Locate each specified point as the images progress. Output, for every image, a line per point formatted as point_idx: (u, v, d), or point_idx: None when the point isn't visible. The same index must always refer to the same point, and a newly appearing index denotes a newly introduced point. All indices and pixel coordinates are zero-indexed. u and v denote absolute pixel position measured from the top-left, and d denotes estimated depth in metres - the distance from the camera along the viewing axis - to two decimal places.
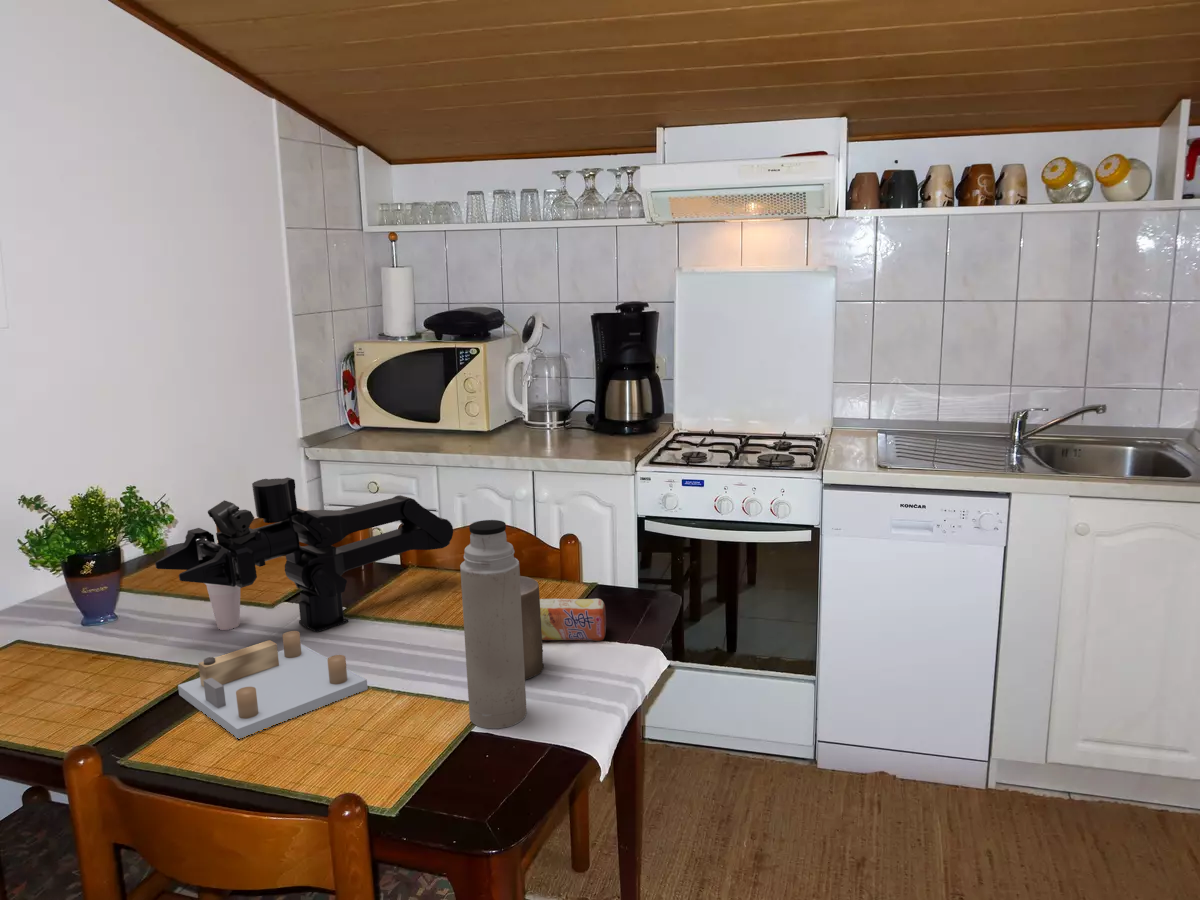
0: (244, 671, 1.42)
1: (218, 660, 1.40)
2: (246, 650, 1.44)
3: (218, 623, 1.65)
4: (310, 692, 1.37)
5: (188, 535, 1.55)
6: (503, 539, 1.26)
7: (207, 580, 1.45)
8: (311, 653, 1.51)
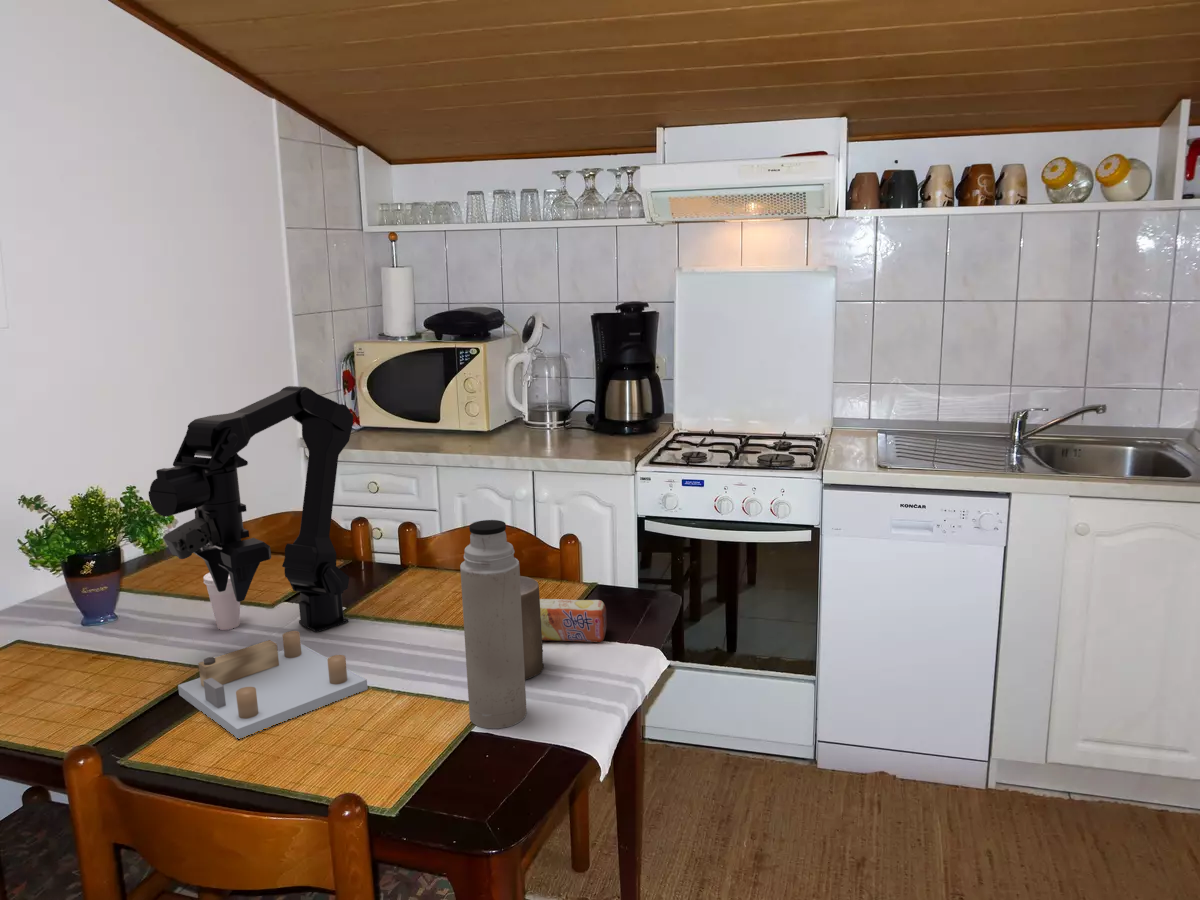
0: (244, 671, 1.42)
1: (218, 660, 1.40)
2: (246, 650, 1.44)
3: (218, 623, 1.65)
4: (310, 692, 1.37)
5: None
6: (503, 539, 1.26)
7: (250, 578, 1.44)
8: (311, 653, 1.51)
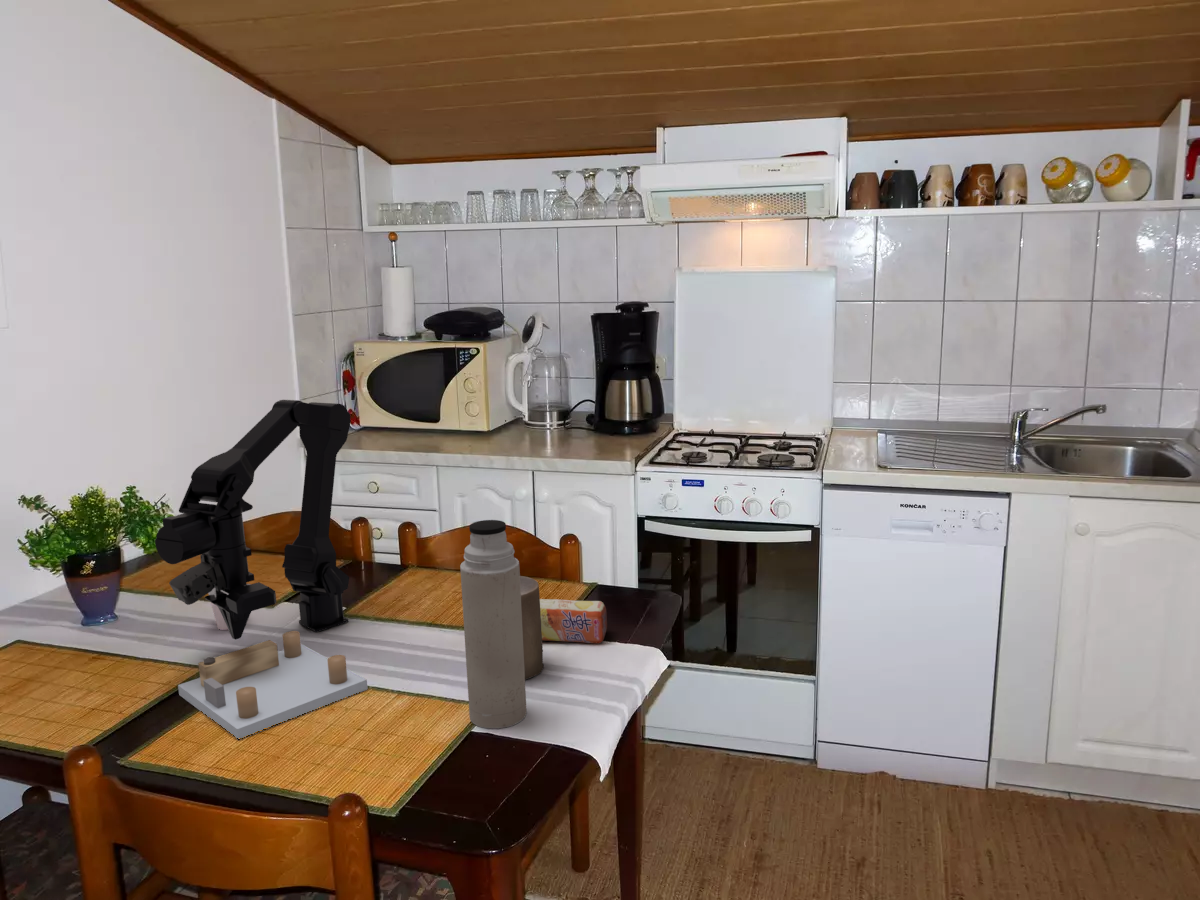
0: (244, 671, 1.42)
1: (218, 660, 1.40)
2: (246, 650, 1.44)
3: (218, 623, 1.65)
4: (310, 692, 1.37)
5: None
6: (503, 539, 1.26)
7: (246, 616, 1.48)
8: (311, 653, 1.51)
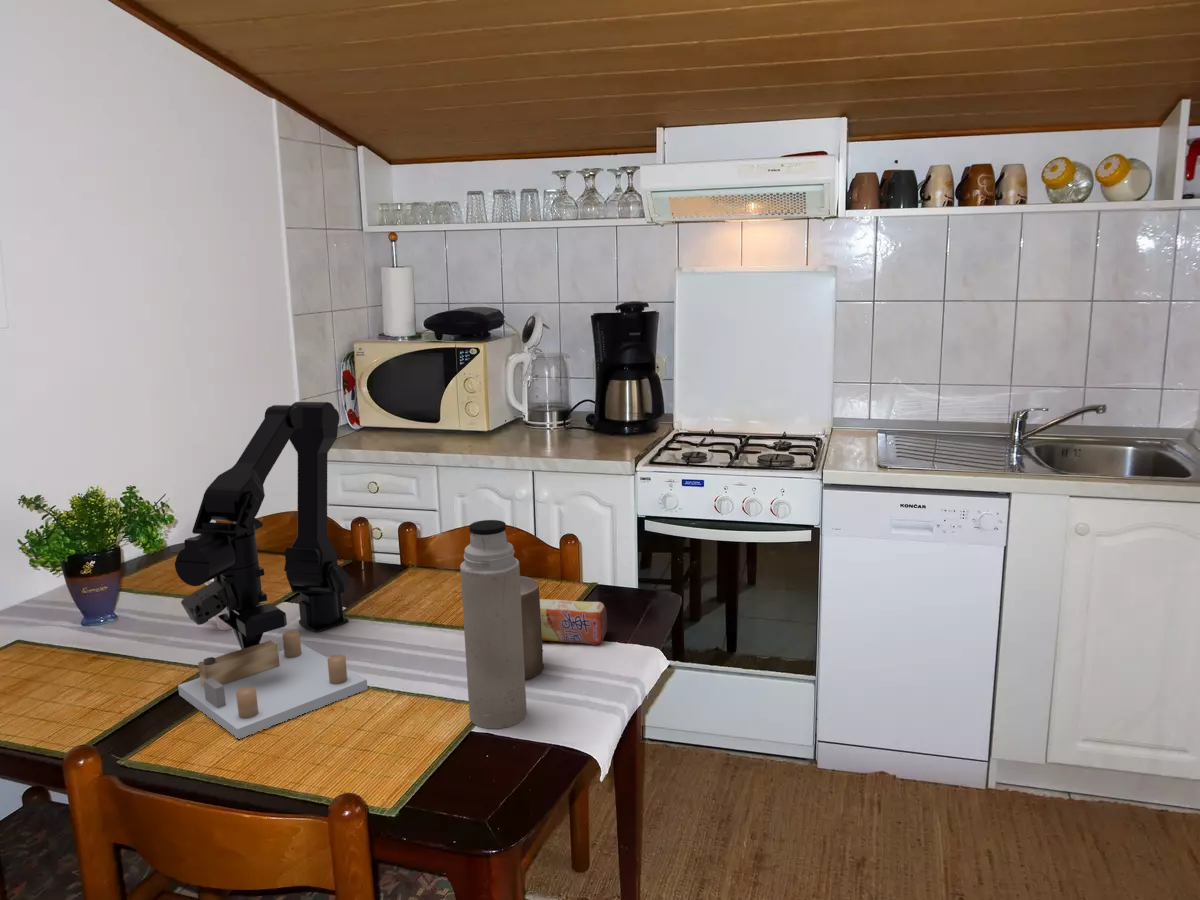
0: (244, 671, 1.42)
1: (218, 660, 1.40)
2: (247, 650, 1.43)
3: (218, 623, 1.65)
4: (310, 692, 1.37)
5: (221, 619, 1.45)
6: (503, 539, 1.26)
7: (258, 637, 1.46)
8: (311, 653, 1.51)
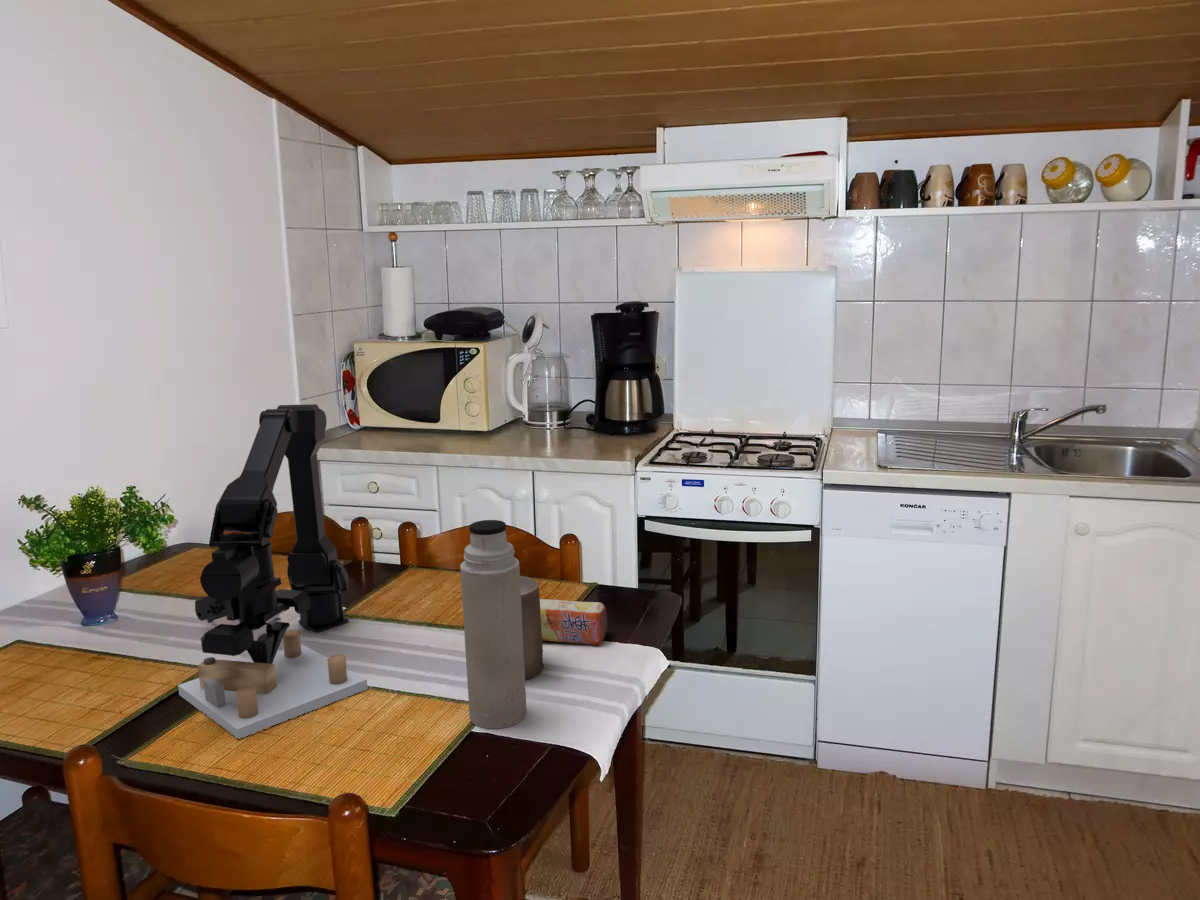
0: (233, 685, 1.38)
1: (215, 663, 1.39)
2: (243, 665, 1.38)
3: (218, 623, 1.65)
4: (310, 692, 1.37)
5: None
6: (503, 539, 1.26)
7: (263, 656, 1.39)
8: (311, 653, 1.51)
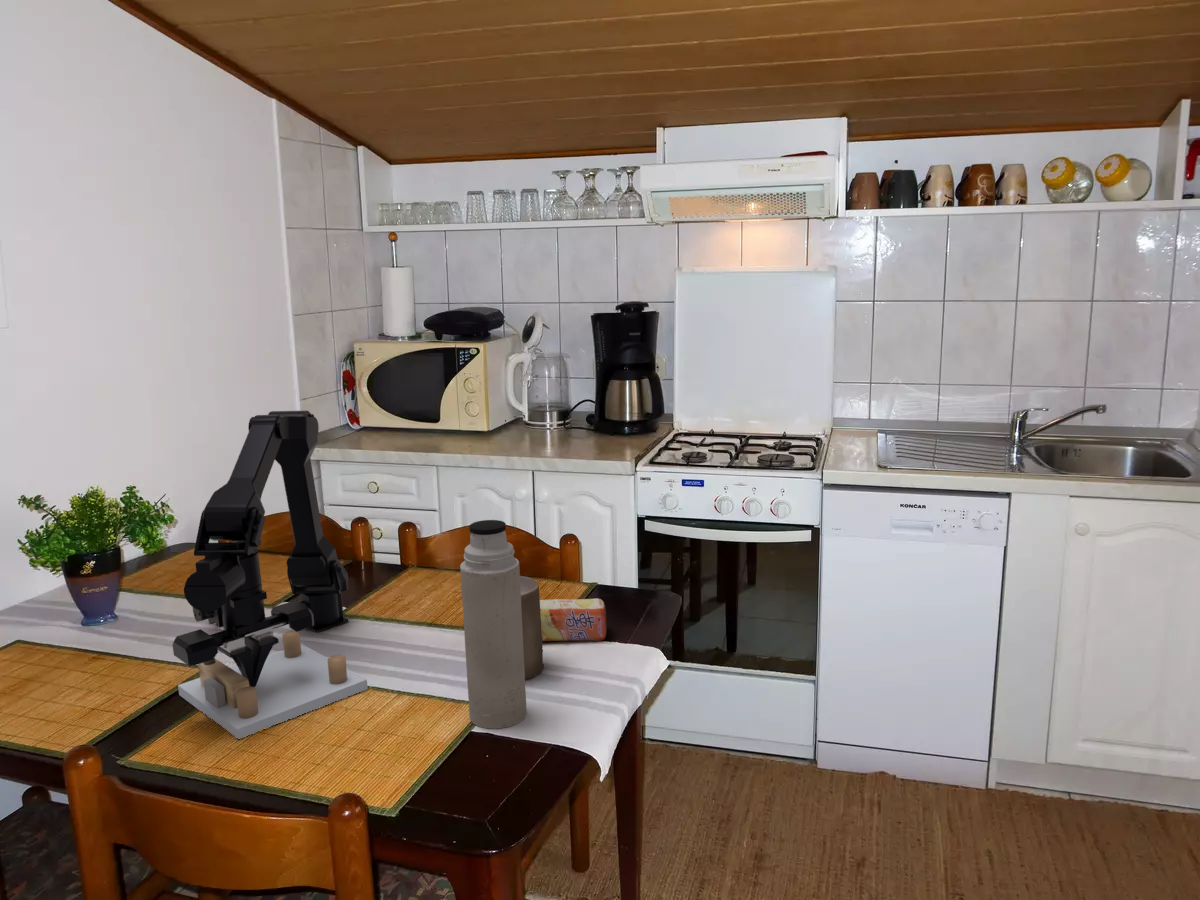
0: None
1: (211, 665, 1.39)
2: (226, 673, 1.36)
3: None
4: (310, 692, 1.37)
5: None
6: (503, 539, 1.26)
7: (244, 669, 1.35)
8: (311, 653, 1.51)
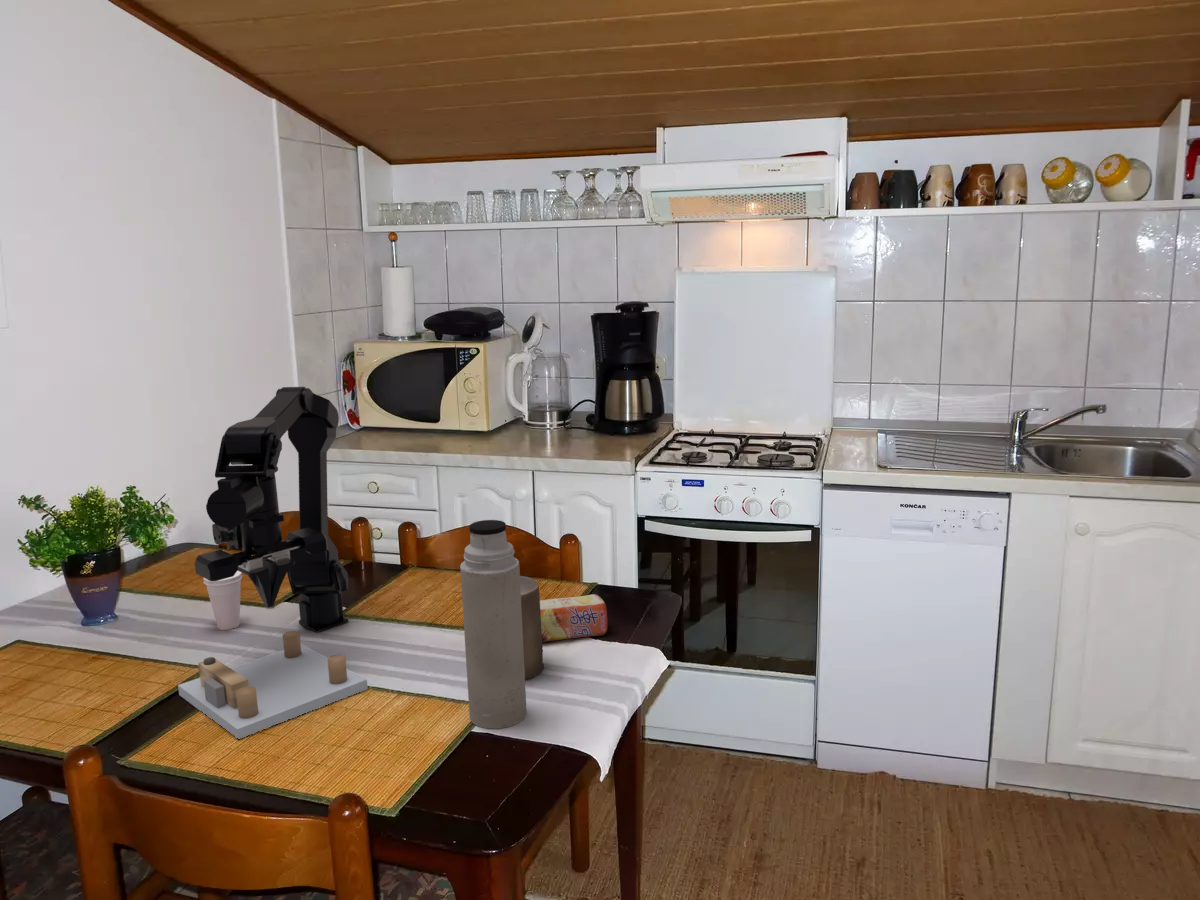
0: None
1: (211, 665, 1.39)
2: (226, 673, 1.36)
3: (218, 623, 1.65)
4: (310, 692, 1.37)
5: None
6: (503, 539, 1.26)
7: (261, 588, 1.41)
8: (311, 653, 1.51)
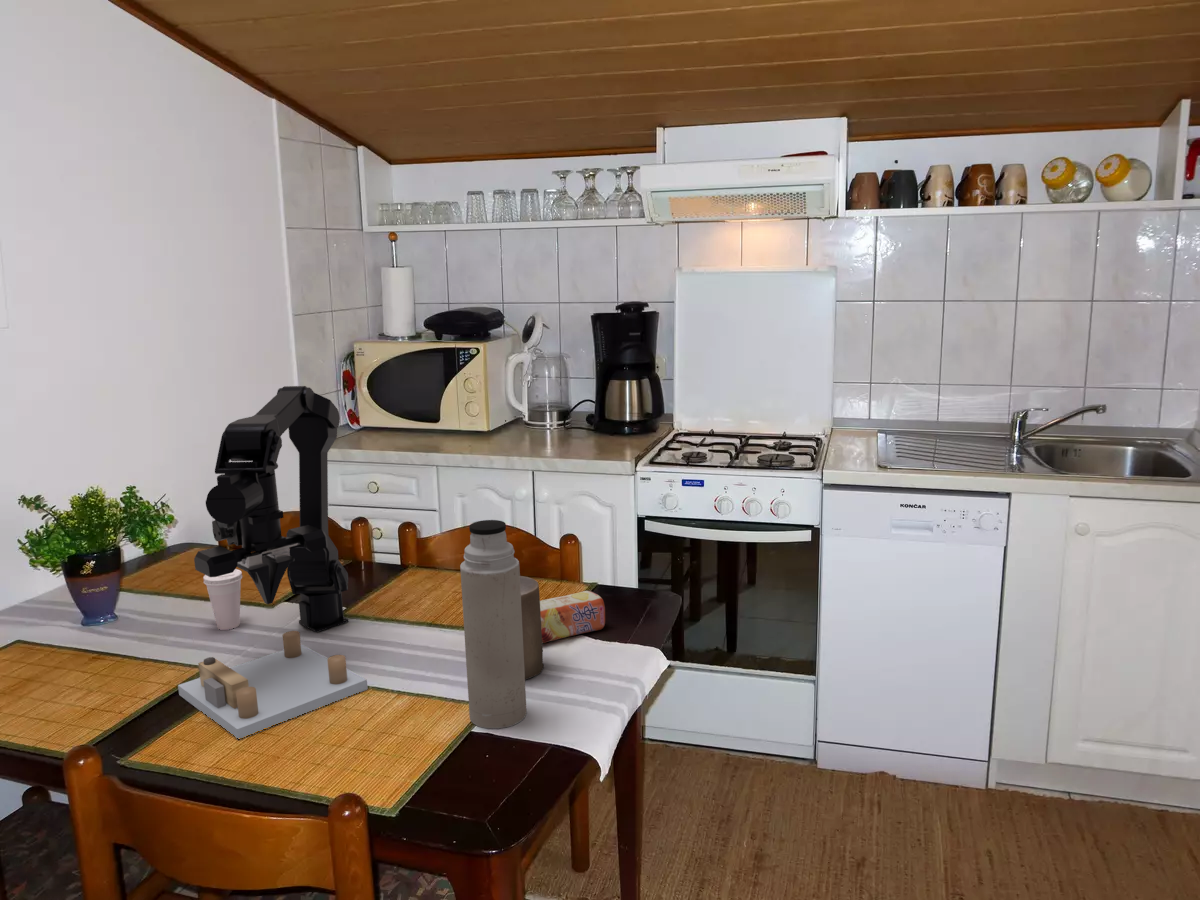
0: None
1: (211, 665, 1.39)
2: (226, 673, 1.36)
3: (218, 623, 1.65)
4: (310, 692, 1.37)
5: None
6: (503, 539, 1.26)
7: (261, 585, 1.41)
8: (311, 653, 1.51)
